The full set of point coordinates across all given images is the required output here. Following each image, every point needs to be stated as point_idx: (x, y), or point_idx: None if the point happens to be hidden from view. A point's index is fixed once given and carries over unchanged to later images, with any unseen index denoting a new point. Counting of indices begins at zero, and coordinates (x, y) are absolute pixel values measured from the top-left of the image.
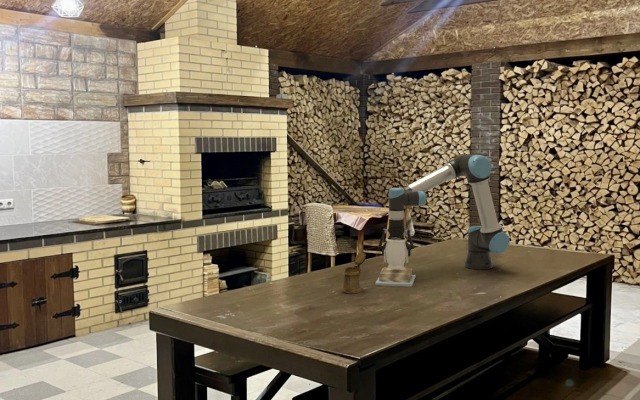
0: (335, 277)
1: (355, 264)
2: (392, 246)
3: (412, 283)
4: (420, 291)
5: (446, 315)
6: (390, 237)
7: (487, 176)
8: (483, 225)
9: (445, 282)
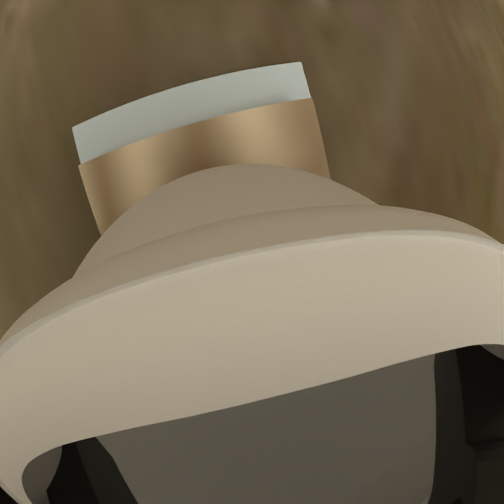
0: (487, 179)
1: None
2: (282, 186)
3: (80, 158)
4: (21, 67)
5: None
6: (497, 466)
7: None
8: None
9: (8, 310)
